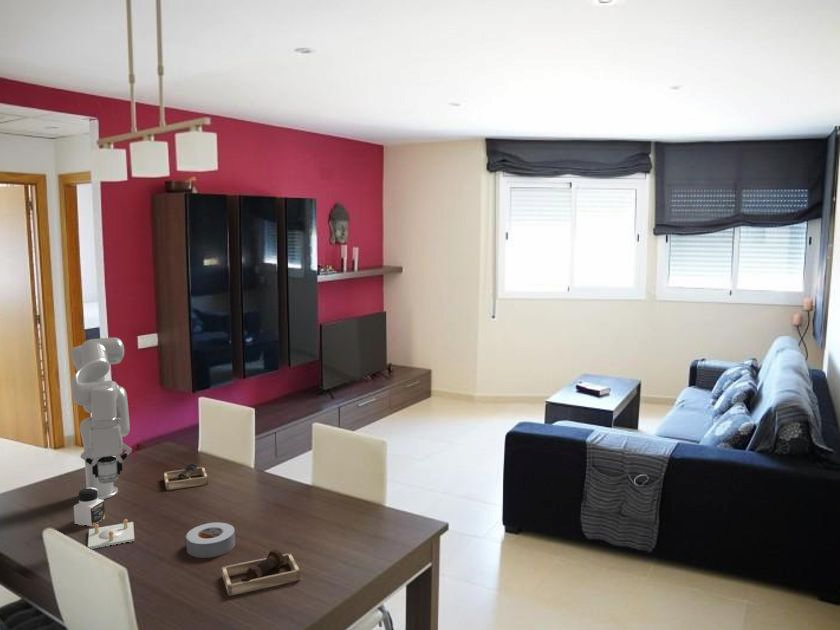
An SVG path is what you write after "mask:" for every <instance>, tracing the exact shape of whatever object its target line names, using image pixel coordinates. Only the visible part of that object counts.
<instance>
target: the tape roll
mask: <svg viewBox="0 0 840 630" xmlns="http://www.w3.org/2000/svg"><path fill="white" fill-rule="evenodd" d="M185 535H186V536H185V543H186V552H187V554H188V555H190V556H191V557H194V558H199V559H200V558H201V559H202V558H203V559H204V558H205V559H207V558H214V557H218V556H223V555H225V554H227V553H229V552H230V551H232V550H233V548H235V545H236V537H235V535H236V534H235V527H234V526H233V525H232V524H229V523H225V522H208V523H205V524H204V523H203V524H200V525H198V526H195V527H193V528H192V529H190V530H189V531H187V533H186V534H185Z"/></svg>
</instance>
